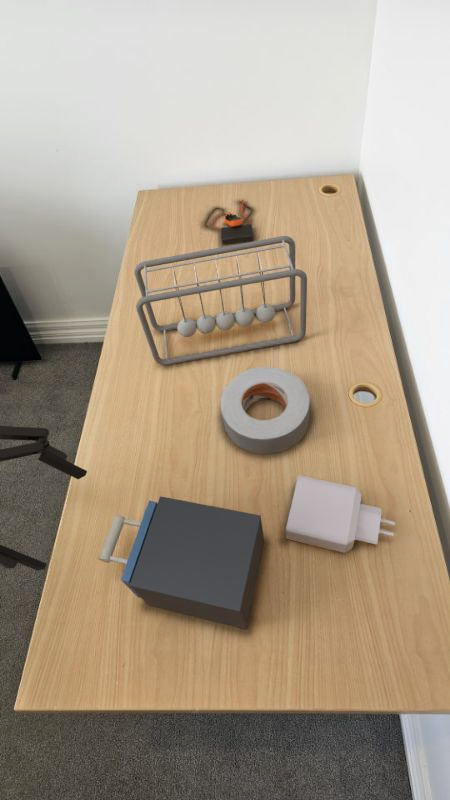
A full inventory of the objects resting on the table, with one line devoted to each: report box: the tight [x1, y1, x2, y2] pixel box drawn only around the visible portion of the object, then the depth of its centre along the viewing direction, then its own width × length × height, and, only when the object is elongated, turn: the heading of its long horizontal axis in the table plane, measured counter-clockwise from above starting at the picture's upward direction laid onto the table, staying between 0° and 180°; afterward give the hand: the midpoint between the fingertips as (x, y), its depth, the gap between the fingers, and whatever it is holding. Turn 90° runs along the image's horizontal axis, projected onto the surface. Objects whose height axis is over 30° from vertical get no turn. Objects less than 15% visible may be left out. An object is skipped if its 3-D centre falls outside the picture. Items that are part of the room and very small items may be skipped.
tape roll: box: [219, 366, 311, 455], centre depth 87 cm, size 15×15×5 cm
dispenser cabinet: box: [130, 496, 266, 631], centre depth 70 cm, size 15×13×11 cm
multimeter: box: [204, 197, 254, 245], centre depth 122 cm, size 18×12×3 cm, turn 178°
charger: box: [285, 474, 396, 554], centre depth 74 cm, size 5×9×15 cm
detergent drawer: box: [98, 500, 158, 599], centre depth 71 cm, size 18×11×9 cm, turn 76°
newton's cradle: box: [134, 235, 308, 366], centre depth 94 cm, size 30×10×18 cm, turn 98°
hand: (63, 519), depth 69 cm, fingers open, 13 cm apart
